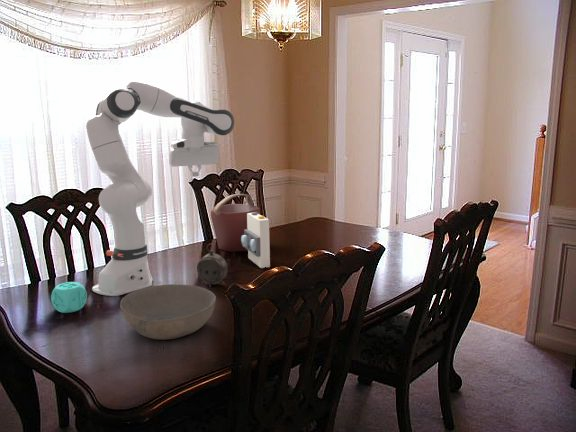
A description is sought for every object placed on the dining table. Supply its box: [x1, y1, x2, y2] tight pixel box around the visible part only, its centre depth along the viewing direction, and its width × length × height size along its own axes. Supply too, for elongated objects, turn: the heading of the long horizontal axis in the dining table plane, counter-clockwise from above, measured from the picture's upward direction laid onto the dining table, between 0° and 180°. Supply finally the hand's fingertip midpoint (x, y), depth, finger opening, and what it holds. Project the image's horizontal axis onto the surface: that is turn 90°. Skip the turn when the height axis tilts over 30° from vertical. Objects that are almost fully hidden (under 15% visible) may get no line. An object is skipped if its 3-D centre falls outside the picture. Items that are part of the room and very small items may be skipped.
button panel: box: [244, 212, 271, 269], centre depth 220 cm, size 6×16×21 cm, turn 23°
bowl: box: [119, 283, 217, 341], centre depth 156 cm, size 28×28×10 cm
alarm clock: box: [196, 243, 229, 288], centre depth 193 cm, size 11×5×16 cm, turn 74°
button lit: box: [250, 239, 256, 251], centre depth 216 cm, size 2×5×5 cm, turn 23°
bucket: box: [210, 193, 261, 253], centre depth 245 cm, size 24×22×25 cm
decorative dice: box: [50, 281, 88, 314], centre depth 174 cm, size 8×8×8 cm
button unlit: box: [241, 235, 249, 247], centre depth 223 cm, size 2×5×5 cm, turn 23°
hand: (195, 176), depth 216 cm, fingers closed
